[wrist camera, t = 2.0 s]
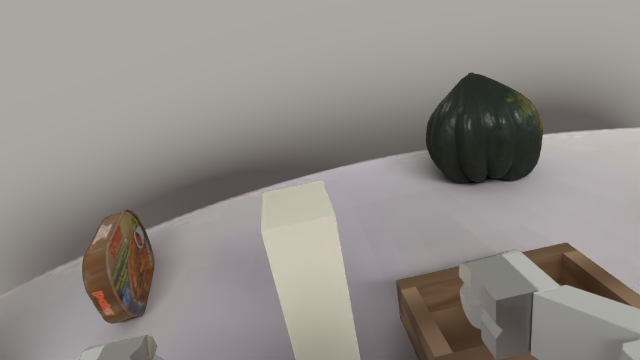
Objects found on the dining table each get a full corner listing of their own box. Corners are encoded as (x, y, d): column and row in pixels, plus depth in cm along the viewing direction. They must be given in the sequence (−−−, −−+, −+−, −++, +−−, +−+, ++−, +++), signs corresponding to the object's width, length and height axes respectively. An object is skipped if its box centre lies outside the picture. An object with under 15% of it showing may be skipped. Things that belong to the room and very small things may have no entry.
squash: (538, 168, 42) (543, 49, 45) (407, 167, 50) (420, 66, 53) (541, 200, 53) (545, 103, 57) (434, 195, 61) (443, 110, 65)
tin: (140, 333, 36) (106, 262, 33) (106, 345, 36) (67, 273, 32) (157, 253, 50) (134, 197, 47) (133, 261, 49) (108, 204, 46)
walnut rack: (659, 364, 25) (671, 318, 23) (445, 416, 24) (442, 372, 23) (562, 280, 33) (566, 242, 32) (400, 317, 33) (396, 280, 31)
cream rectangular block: (368, 405, 26) (335, 215, 20) (311, 418, 26) (261, 230, 20) (353, 347, 30) (322, 180, 25) (305, 359, 30) (262, 192, 24)
